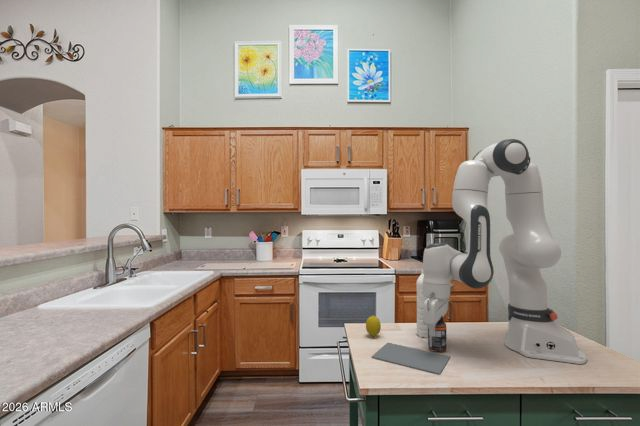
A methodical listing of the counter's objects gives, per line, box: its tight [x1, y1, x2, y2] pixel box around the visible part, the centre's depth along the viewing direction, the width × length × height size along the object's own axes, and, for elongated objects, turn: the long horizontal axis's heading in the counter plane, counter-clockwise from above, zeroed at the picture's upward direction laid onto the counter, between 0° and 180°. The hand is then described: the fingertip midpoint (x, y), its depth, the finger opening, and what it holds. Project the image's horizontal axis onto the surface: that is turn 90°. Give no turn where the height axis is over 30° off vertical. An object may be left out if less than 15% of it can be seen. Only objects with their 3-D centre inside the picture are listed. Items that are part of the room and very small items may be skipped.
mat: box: [371, 342, 451, 376], centre depth 103 cm, size 21×14×1 cm, turn 57°
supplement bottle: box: [427, 316, 448, 353], centre depth 110 cm, size 6×6×11 cm
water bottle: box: [416, 268, 428, 339], centre depth 123 cm, size 9×6×25 cm
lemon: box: [365, 314, 382, 338], centre depth 121 cm, size 6×6×8 cm
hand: (435, 331), depth 110 cm, fingers open, 8 cm apart
